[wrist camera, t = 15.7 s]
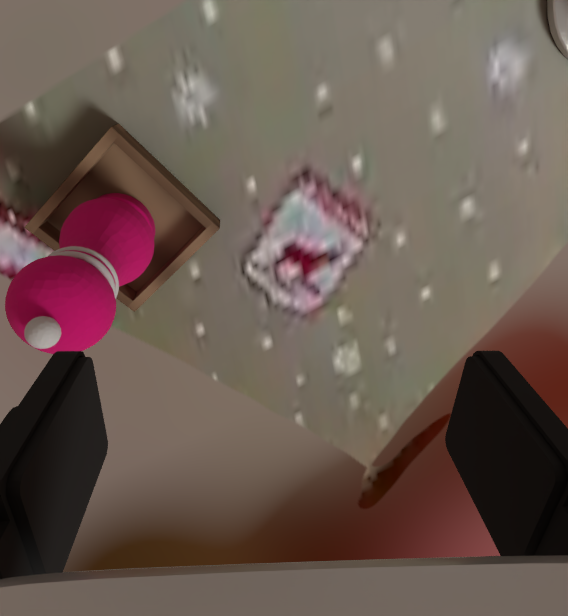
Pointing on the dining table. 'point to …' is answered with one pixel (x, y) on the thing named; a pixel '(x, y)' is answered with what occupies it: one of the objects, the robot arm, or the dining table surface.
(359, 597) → the robot arm
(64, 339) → the magenta pepper mill
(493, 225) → the dining table surface
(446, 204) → the dining table surface
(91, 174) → the walnut tray
